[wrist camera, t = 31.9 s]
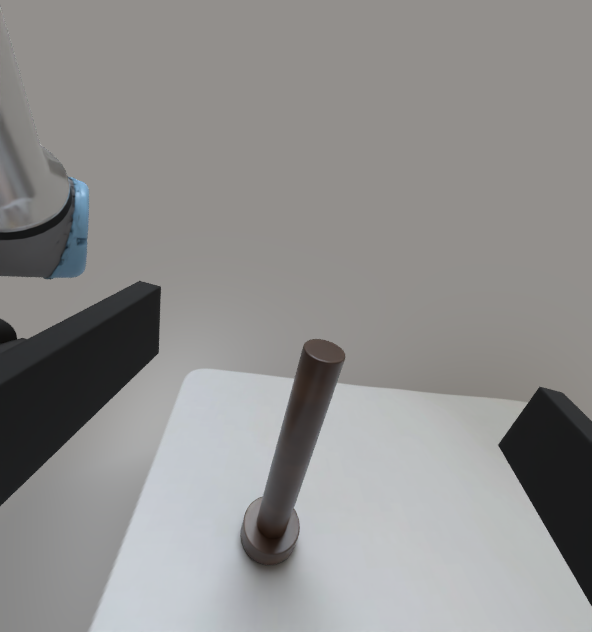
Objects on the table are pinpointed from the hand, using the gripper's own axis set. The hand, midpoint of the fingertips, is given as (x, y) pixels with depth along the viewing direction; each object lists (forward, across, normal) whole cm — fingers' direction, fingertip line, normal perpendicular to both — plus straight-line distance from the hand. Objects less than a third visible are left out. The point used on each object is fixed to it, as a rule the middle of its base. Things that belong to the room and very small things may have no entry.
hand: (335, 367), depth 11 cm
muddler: (+6, 0, -20) cm, 21 cm away
